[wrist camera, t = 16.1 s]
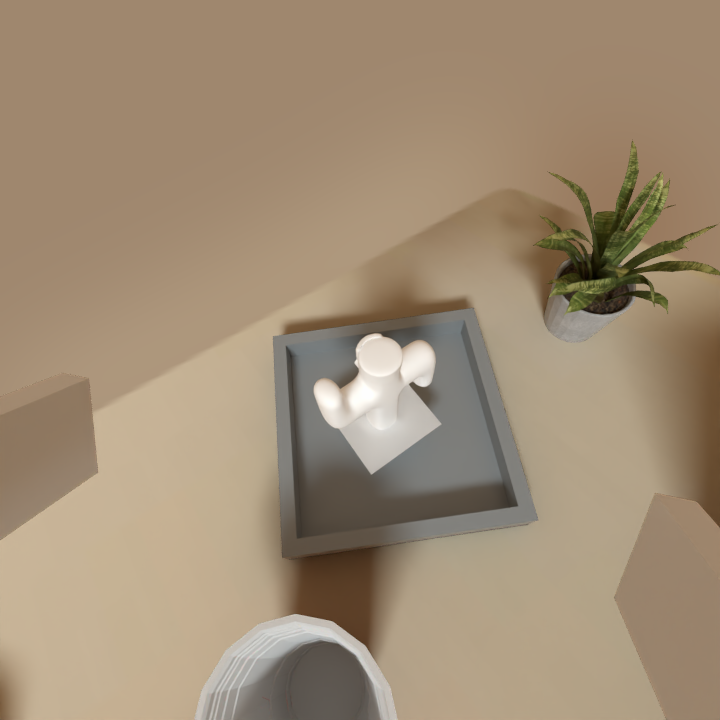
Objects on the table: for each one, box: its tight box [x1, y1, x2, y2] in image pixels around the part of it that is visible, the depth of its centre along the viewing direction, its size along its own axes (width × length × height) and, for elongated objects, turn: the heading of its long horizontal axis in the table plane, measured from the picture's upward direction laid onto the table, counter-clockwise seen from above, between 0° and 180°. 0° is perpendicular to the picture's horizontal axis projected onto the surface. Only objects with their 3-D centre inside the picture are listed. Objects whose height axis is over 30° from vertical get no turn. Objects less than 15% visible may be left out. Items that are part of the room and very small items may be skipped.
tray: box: [273, 308, 538, 559], centre depth 39 cm, size 20×20×3 cm
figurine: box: [314, 333, 441, 475], centre depth 33 cm, size 7×9×15 cm
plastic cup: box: [194, 614, 398, 720], centre depth 26 cm, size 11×11×12 cm
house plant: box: [533, 141, 720, 342], centre depth 38 cm, size 14×14×16 cm
